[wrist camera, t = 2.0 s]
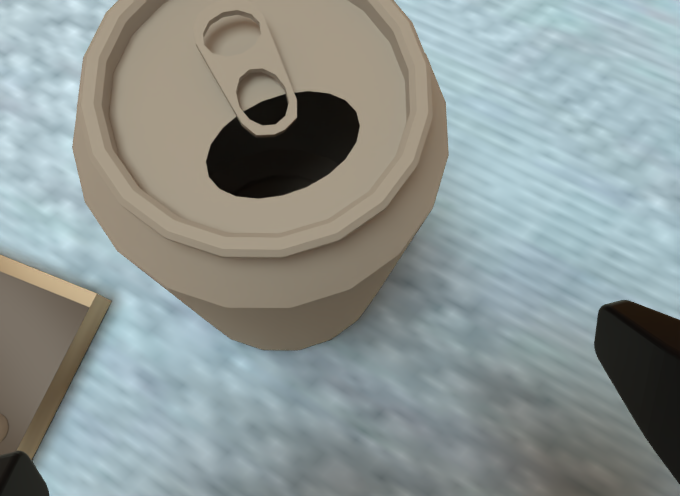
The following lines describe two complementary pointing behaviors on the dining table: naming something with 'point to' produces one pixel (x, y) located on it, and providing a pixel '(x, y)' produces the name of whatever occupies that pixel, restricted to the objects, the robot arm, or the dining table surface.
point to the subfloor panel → (39, 348)
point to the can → (261, 155)
